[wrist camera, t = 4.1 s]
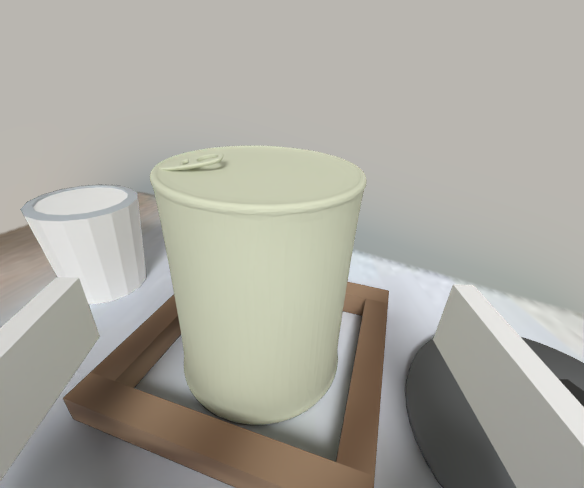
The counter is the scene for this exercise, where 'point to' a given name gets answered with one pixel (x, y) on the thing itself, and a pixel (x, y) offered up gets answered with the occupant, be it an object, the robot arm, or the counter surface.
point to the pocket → (225, 436)
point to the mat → (463, 419)
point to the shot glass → (91, 238)
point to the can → (259, 272)
